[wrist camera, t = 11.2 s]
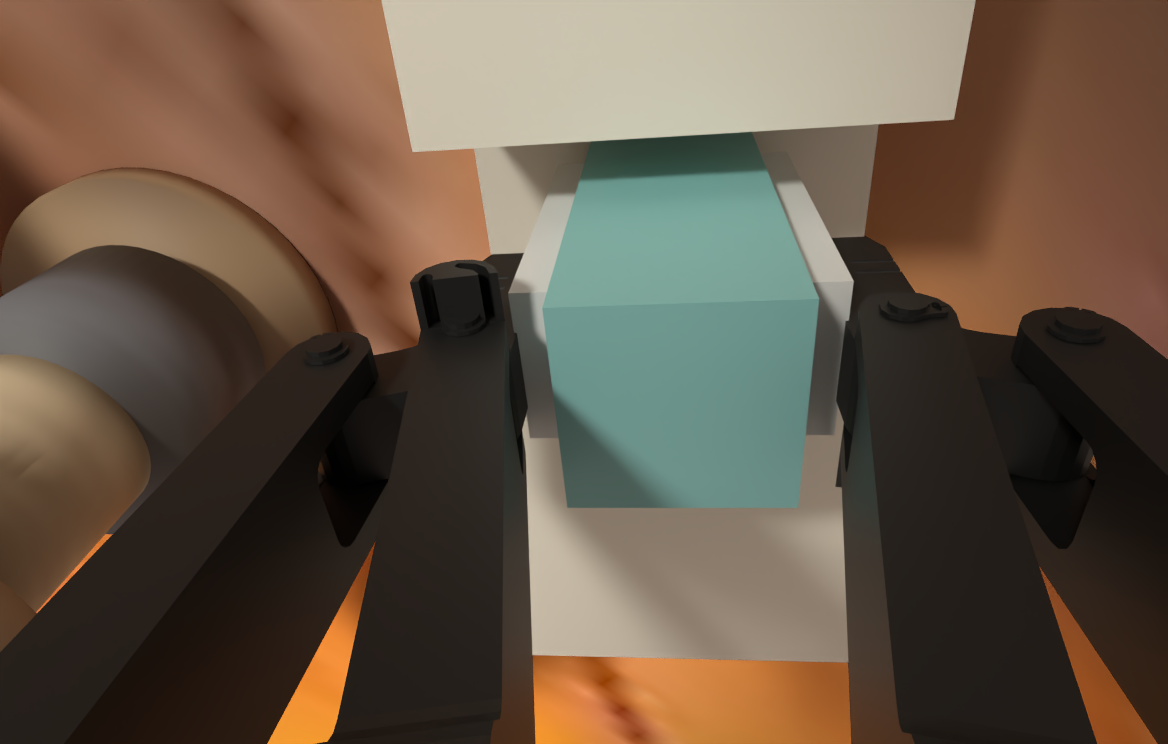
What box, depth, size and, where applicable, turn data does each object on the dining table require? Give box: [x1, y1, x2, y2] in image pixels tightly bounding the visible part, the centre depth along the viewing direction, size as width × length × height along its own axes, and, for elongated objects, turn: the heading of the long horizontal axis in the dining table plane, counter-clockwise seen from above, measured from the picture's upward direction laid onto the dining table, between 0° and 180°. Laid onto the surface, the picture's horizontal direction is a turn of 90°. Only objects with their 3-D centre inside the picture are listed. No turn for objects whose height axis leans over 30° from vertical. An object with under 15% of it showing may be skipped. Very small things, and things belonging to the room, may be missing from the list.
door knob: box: [0, 168, 337, 652], centre depth 16 cm, size 9×9×12 cm
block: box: [542, 132, 819, 508], centre depth 14 cm, size 4×4×8 cm
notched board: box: [382, 0, 976, 663], centre depth 16 cm, size 22×9×5 cm, turn 5°
